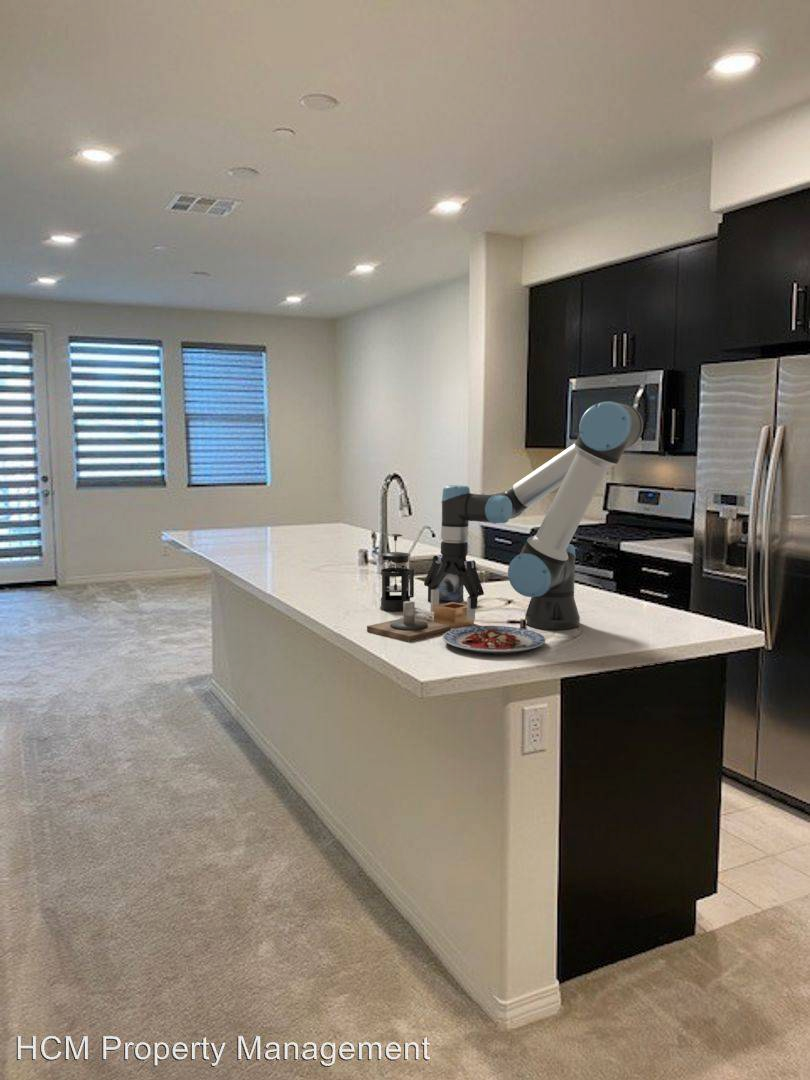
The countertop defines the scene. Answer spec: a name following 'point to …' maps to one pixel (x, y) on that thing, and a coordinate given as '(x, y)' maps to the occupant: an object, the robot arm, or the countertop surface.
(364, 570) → the countertop surface
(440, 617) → the open wooden box
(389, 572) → the french press
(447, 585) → the small box
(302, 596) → the countertop surface
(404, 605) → the post stand
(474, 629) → the ceramic plate
